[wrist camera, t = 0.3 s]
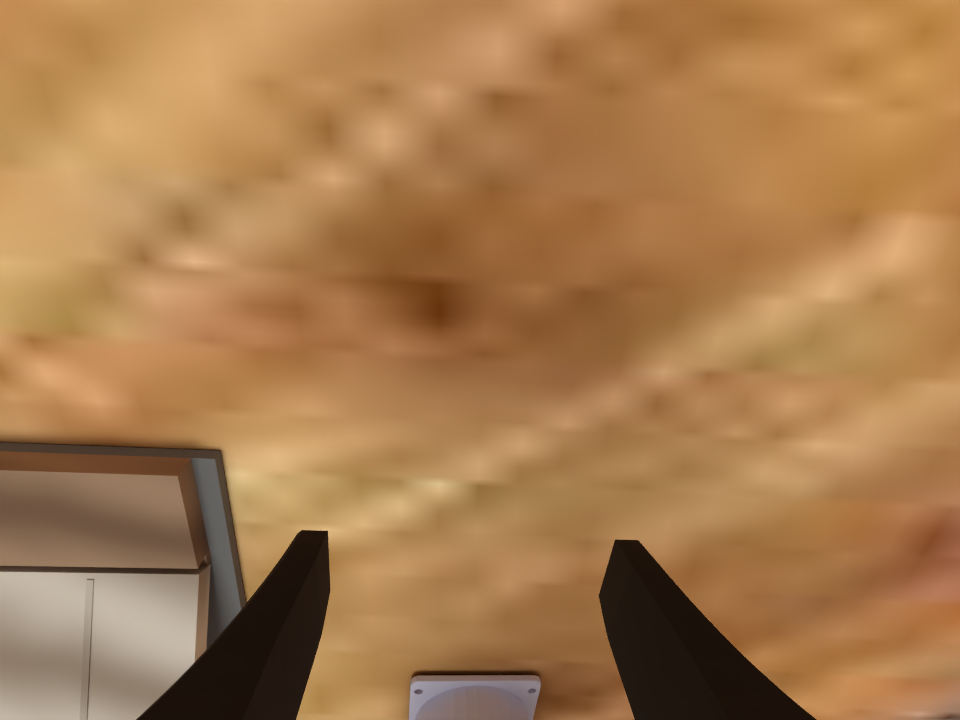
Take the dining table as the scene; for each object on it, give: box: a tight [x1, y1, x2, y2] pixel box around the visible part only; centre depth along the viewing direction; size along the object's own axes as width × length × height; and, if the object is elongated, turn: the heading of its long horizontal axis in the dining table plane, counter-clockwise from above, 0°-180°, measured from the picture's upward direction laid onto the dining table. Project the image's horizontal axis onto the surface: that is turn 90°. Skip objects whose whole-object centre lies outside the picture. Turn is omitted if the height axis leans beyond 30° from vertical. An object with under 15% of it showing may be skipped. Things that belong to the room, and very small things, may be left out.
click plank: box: [0, 564, 211, 720], centre depth 23 cm, size 10×14×1 cm
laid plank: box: [0, 451, 211, 569], centre depth 22 cm, size 6×14×1 cm, turn 85°
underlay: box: [0, 442, 246, 650], centre depth 26 cm, size 22×16×1 cm
